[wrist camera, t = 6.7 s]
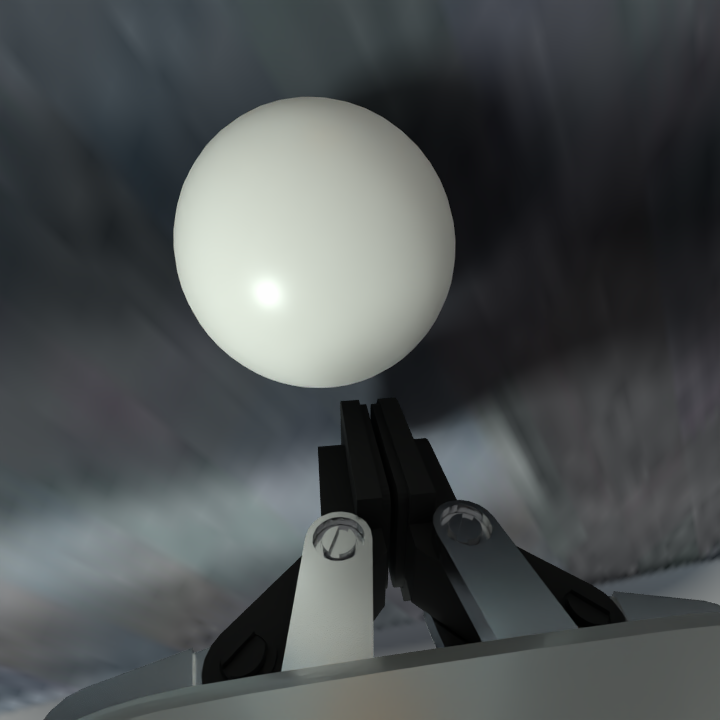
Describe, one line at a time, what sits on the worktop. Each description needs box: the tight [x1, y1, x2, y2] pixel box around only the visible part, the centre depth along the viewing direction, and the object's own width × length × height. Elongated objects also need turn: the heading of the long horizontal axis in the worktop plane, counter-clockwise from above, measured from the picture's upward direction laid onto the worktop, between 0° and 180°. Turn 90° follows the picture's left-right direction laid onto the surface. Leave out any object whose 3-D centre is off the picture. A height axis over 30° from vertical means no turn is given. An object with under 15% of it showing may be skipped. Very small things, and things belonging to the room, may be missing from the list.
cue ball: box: [174, 97, 455, 388], centre depth 8 cm, size 6×6×6 cm
